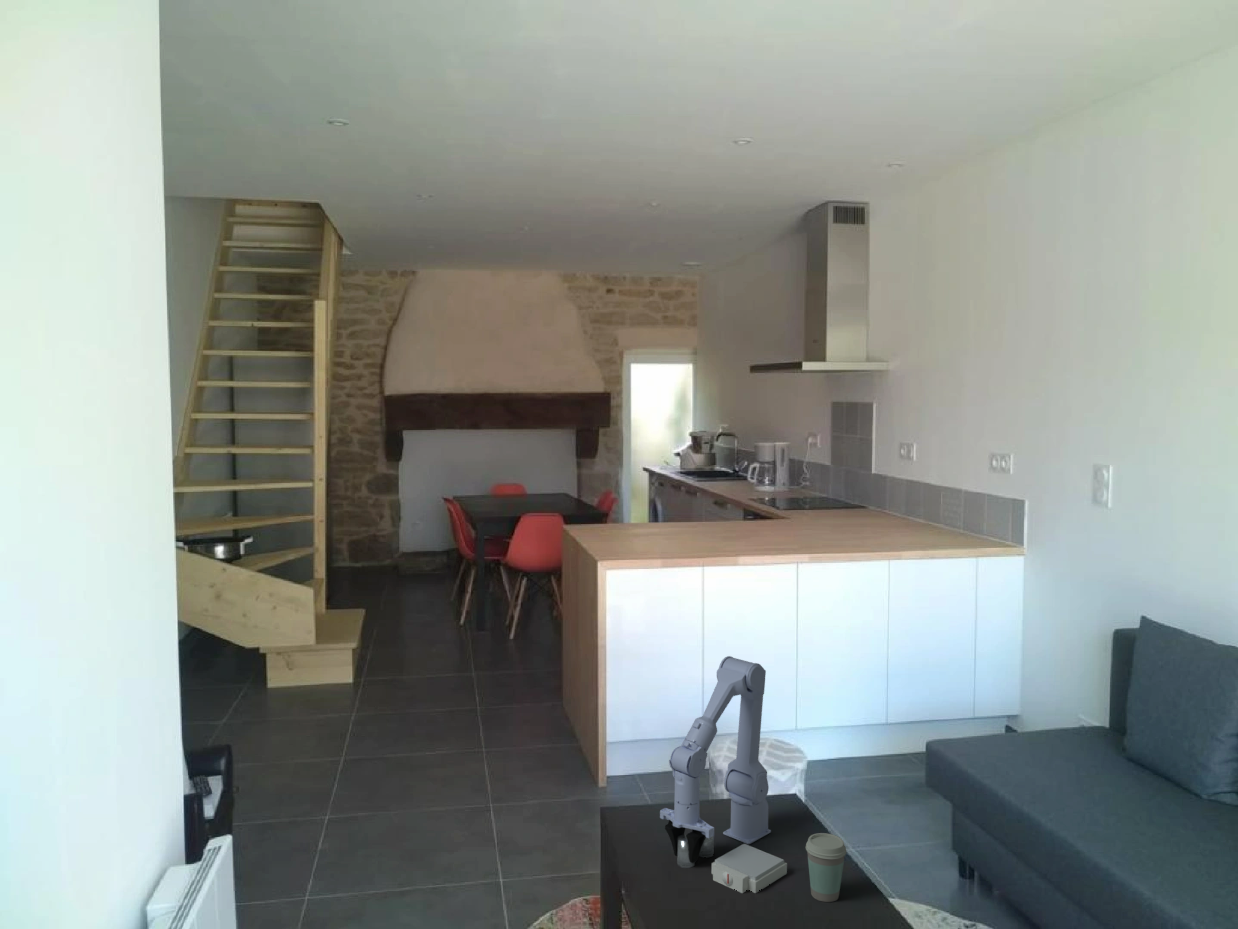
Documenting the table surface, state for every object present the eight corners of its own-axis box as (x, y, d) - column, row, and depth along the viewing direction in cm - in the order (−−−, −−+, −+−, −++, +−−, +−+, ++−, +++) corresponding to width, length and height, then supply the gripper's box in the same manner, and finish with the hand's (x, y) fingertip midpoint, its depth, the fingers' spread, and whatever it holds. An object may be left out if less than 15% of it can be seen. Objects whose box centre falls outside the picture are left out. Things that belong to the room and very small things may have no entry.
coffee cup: (847, 889, 203) (848, 835, 202) (843, 909, 195) (844, 853, 194) (807, 882, 206) (808, 829, 205) (801, 901, 198) (803, 846, 197)
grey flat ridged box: (743, 855, 218) (743, 842, 217) (786, 873, 209) (787, 859, 209) (704, 877, 207) (705, 863, 207) (748, 897, 199) (749, 883, 199)
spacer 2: (703, 848, 221) (704, 823, 221) (717, 853, 218) (717, 828, 218) (693, 853, 218) (693, 828, 218) (706, 859, 216) (706, 834, 215)
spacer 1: (684, 858, 216) (685, 832, 216) (698, 863, 213) (698, 838, 213) (673, 864, 213) (674, 838, 213) (687, 870, 211) (687, 844, 210)
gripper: (651, 795, 215) (650, 853, 215) (700, 815, 205) (699, 875, 205) (671, 786, 220) (670, 842, 221) (720, 805, 210) (719, 864, 210)
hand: (686, 857), depth 213 cm, fingers closed on spacer 1, 4 cm apart
